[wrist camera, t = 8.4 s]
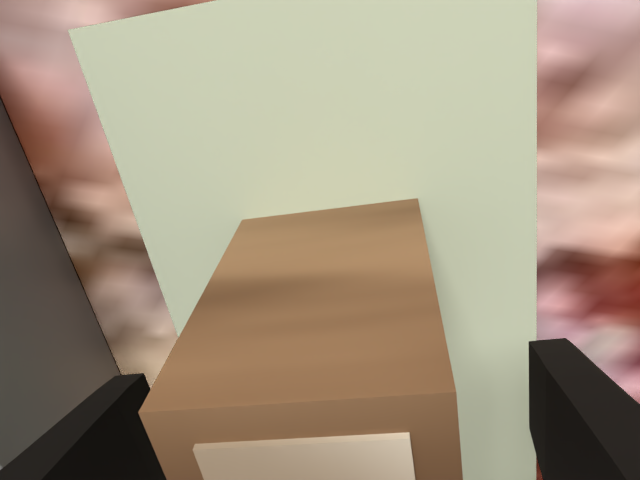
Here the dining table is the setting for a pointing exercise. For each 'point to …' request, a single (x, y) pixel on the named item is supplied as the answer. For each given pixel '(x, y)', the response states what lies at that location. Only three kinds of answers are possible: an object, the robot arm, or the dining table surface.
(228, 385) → the walnut block
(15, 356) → the bin
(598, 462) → the robot arm
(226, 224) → the board
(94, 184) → the dining table surface
